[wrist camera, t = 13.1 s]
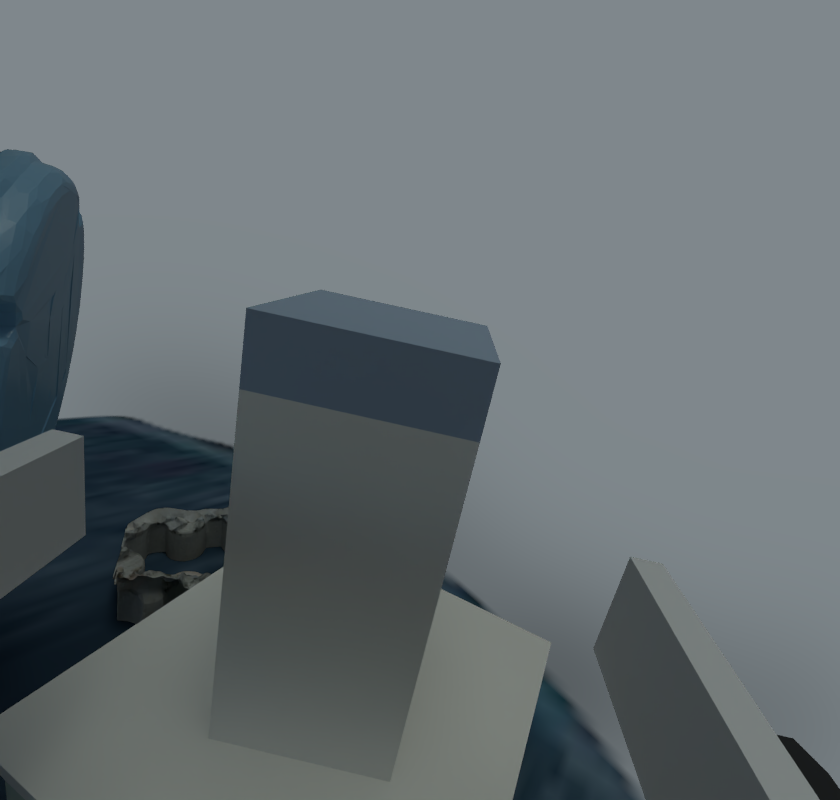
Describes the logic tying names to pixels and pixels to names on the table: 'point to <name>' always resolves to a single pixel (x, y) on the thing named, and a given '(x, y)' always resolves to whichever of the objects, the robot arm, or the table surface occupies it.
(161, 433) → the table surface
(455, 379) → the milk carton
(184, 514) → the egg carton
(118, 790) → the podium
